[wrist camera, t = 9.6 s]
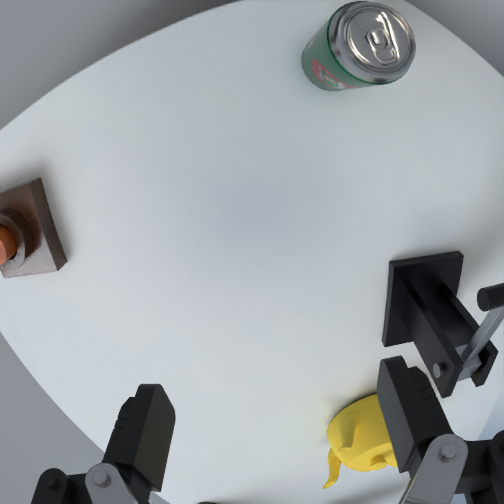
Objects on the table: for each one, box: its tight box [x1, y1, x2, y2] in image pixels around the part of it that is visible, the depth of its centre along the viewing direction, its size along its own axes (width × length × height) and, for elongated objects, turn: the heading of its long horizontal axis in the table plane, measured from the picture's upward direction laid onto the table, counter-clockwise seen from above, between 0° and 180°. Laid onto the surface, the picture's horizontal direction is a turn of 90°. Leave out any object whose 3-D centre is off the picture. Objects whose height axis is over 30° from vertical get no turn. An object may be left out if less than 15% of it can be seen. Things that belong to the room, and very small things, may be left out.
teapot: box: [323, 394, 398, 489], centre depth 38 cm, size 14×13×10 cm
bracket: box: [382, 251, 498, 399], centre depth 27 cm, size 11×9×13 cm
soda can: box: [302, 1, 416, 91], centre depth 18 cm, size 5×5×12 cm
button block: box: [0, 178, 67, 278], centre depth 28 cm, size 10×10×4 cm
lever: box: [455, 283, 504, 381], centre depth 20 cm, size 12×6×2 cm, turn 8°
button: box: [0, 226, 17, 265], centre depth 26 cm, size 4×4×2 cm
